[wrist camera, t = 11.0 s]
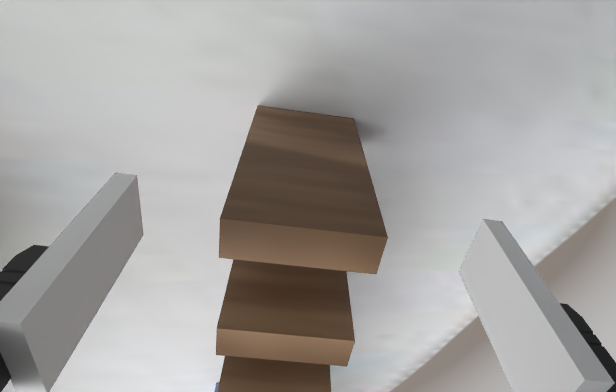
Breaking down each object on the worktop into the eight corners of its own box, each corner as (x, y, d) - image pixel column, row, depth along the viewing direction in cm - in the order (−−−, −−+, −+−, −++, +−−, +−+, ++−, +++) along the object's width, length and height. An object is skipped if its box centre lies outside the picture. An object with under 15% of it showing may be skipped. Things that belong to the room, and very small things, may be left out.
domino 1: (251, 186, 27) (216, 328, 17) (336, 196, 27) (354, 340, 17) (249, 207, 28) (216, 354, 17) (332, 217, 28) (346, 366, 18)
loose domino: (348, 144, 25) (376, 274, 15) (255, 132, 25) (219, 257, 14) (354, 118, 24) (387, 237, 14) (257, 105, 24) (220, 218, 14)
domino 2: (246, 251, 30) (214, 404, 20) (323, 259, 30) (332, 413, 20) (245, 268, 31) (214, 423, 20) (320, 276, 31) (326, 432, 21)
